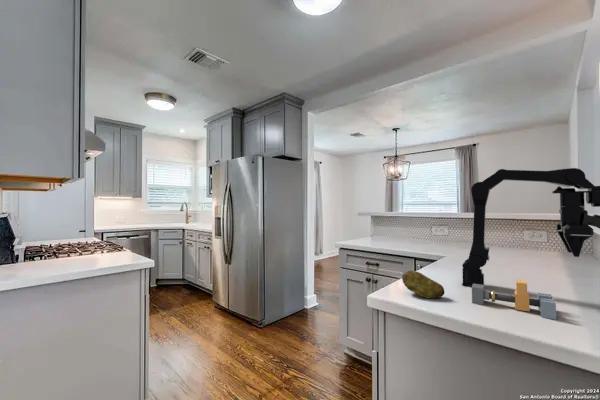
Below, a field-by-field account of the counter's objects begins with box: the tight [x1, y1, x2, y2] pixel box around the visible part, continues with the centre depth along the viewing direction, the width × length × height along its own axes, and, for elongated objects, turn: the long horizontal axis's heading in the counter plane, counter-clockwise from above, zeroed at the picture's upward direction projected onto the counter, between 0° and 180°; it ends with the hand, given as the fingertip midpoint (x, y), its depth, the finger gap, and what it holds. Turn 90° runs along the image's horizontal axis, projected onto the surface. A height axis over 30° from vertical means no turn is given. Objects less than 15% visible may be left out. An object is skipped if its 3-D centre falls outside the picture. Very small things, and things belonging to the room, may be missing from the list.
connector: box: [471, 284, 490, 306], centre depth 88 cm, size 4×5×5 cm
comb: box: [537, 291, 557, 321], centre depth 79 cm, size 3×9×4 cm, turn 144°
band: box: [490, 290, 496, 303], centre depth 86 cm, size 1×3×3 cm, turn 144°
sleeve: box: [514, 278, 531, 312], centre depth 82 cm, size 3×4×8 cm
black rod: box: [489, 291, 540, 308], centre depth 84 cm, size 14×2×2 cm, turn 54°
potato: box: [401, 270, 445, 299], centre depth 95 cm, size 8×13×8 cm, turn 39°
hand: (573, 254), depth 90 cm, fingers open, 9 cm apart
